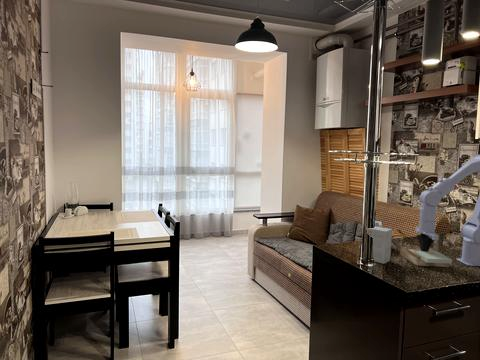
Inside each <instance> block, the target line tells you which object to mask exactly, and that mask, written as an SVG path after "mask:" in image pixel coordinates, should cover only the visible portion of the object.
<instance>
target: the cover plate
mask: <svg viewBox="0 0 480 360" xmlns="http://www.w3.org/2000/svg"><path fill="white" fill-rule="evenodd" d="M414 253H415V254H417V255H419V256H420V257H421V259H422V260H424V261H425V262H427V263H449V264H450V265H451V264H453V263H452V262H453V259H452V258H450V257H448V256H447V257H446V255H445V256H444V254H443V253H441V252H439V253H438V251H437V252H426V251H414ZM440 253H441V254H440ZM442 254H443V255H442Z"/></svg>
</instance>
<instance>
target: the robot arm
mask: <svg viewBox="0 0 480 360" xmlns="http://www.w3.org/2000/svg"><path fill="white" fill-rule="evenodd" d="M473 173H479V174H480V154H475V155H473V156H472V157H471V158H469V159H468V160H467V161H466V163H464V164H463V165H461V167H459V168H458V169H457V171H455V172H453V174H451V175H450V176H449V177H444V178H443V177H442V178H440V179H438V180H437V182H436V183H435V184H434V185H433V186H429V187H428V190H427V189H426V190H423V191H421V193H420V195H419V196H418V200H419V202H420V211H419V222H418V226H415V227H414V231H415V232H416V233H418V234H416V237H417V240H418V242H419V247H420V248H419V250H421V251H426V252H428V251H429V249H430V248H431V246H432V245H433V243H434V241H439V236H440V235H438V234H437V233H436V219H437V208H438V205H440V203H441V201H442V199H443V198H444V197H446V196H447V195H448V194H449V193H451V192H452V191H454V190H455V187H456V186H455V185H456V184H458V183H459V182H461V181H462V180H464V179H465V178H467V177H469V176H470V175H471V174H473ZM460 234H461V236H462V239H463V241H462V249H461V251H462V252H461V258H460V257H459V258H456V261H459V262H460V263H463V264H464V265H466V266H471V267H480V193H479V195H478V197H477V200H476V203H475V206H474V209H473V211H472V214H471V216H470V217H469V218H467V219H466V221H465V223H464V224H463V225H462V226H461V228H460Z"/></svg>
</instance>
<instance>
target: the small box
mask: <svg viewBox="0 0 480 360" xmlns="http://www.w3.org/2000/svg"><path fill="white" fill-rule="evenodd" d="M366 230H367V234H368V235H369V236H370V237H372V238H373V258H374V261H373V262H375V263H379V264H383V265H384V264H386V263H388V262H390V261H391V253H392V239H393V238H392V237H393V229H392V228H386V227H383V226H382V227H376V226H375V227H374V228H367V227H366Z"/></svg>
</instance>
